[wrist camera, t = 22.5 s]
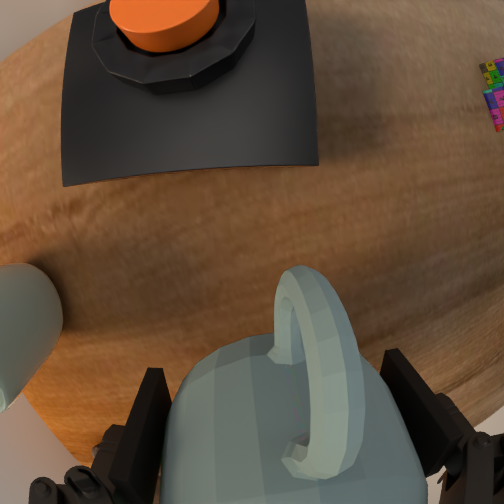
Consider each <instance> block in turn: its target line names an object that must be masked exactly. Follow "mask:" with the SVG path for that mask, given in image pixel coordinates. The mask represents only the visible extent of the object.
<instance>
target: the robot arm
mask: <svg viewBox="0 0 504 504" xmlns="http://www.w3.org/2000/svg"><path fill="white" fill-rule="evenodd" d="M380 376H381V378H382V379H383V380H384V382H385V383H386V384H387V386H388V387H389V390H390V392H391V394H392V396H393V398H394V400H395V402H396V405H397V407H398V409H399V411H400V413H401V416H402V418H403V420H404V423H405V425H406V428H407V430H408V433H409V435H410V438H411V440H412V442H413V444H414V447H415V449H416V452H417V454H418V457H419V459H420V463H421V466H422V469H423V472H424V475H425V478H427V477H429V476H431V475H433V474H435V473H438V472H439V471H440V469H441V468H442V467H443V465H444V466H445V468H446V469H447V470H446V471H445V472H444V473H443V475H442V476H441V477H440V479H439V480H438V482H437V484H439V483H440V482H441V481H442V480H443V483H442V490H441V496H440V501H439V504H504V433H503V434H498V435H494V436H490V435H488V434H486V433H485V432H476V431H475V430H474V428H473V427H472V426H471V424H470V423H469V422H468V421H467V419H466V418H465V417H464V415H463V414H462V413H461V412H459V409H458V408H457V406H455V404H454V403H453V401H452V400H451V399H450V398H449V397H448V396H446V395H444V394H443V393H438V394H434V393H433V392H432V390H431V389H430V388H429V387H428V385H427V384H426V383H425V381H424V380H423V379H422V378H421V376H420V375H419V374H418V373H417V371H416V370H415V369H414V368H413V366H412V365H411V364H410V363H409V361H408V360H407V359H406V358H405V356H404V355H403V354H402V353H401V351H400V350H399V349H398V348H395V349H390V350H385V353H384V358H383V362H382V366H381V371H380ZM171 405H172V401H171V398H170V394H169V390H168V387H167V383H166V379H165V375H164V372H163V368H147V371H146V373H145V376H144V378H143V381H142V383H141V386H140V388H139V391H138V394H137V396H136V399H135V401H134V404H133V407H132V409H131V412H130V415H129V417H128V420H127V423H126V425H125V426H122V425H115V424H113V425H112V426H111V427H110V428H109V429H108V430H107V431H106V432H105V434H104V436H103V439H102V443H101V444H100V446H99V450H98V451H97V453H96V456H95V459H94V461H93V464H92V466H91V469H90V468H89V467H86V466H75V467H72V468H70V469H69V470H68V471H67V472H66V474H65V476H64V482H65V484H63V485H62V484H55V482H54V481H52V480H51V479H49V478H46V477H39V478H37V479H35V480H34V481H33V482H32V483H31V486H30V492H29V504H153V501H154V496H155V491H156V485H157V480H158V475H159V470H160V465H161V461H162V450H163V440H164V432H165V423H166V420H167V417H168V414H169V411H170V408H171Z"/></svg>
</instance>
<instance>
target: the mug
mask: <svg viewBox="0 0 504 504" xmlns="http://www.w3.org/2000/svg"><path fill="white" fill-rule="evenodd" d="M159 504H428V484H427V481H426V478H425V475H424V472H423V469H422V466H421V463H420V459H419V457H418V454H417V452H416V449H415V447H414V444H413V442H412V440H411V438H410V435H409V433H408V430H407V428H406V425H405V423H404V420H403V418H402V416H401V413H400V411H399V409H398V407H397V405H396V402H395V400H394V398H393V396H392V394H391V392H390V390H389V387H388V386H387V384H386V383H385V382H384V380H383V379H382V378H381V376H380V375H379V373H378V372H377V371H376V370H375V369H374V368H373V366H372V365H371V364H370V363H369V362H368V361H367V360H366V359H365V358H364V357H363V356H362V355H361V354H360V353H359V351H358V346H357V342H356V338H355V335H354V332H353V329H352V327H351V324H350V321H349V318H348V315H347V313H346V311H345V309H344V307H343V305H342V303H341V301H340V299H339V297H338V295H337V293H336V291H335V290H334V289H333V287H332V286H331V284H330V283H329V282H328V280H327V279H326V278H325V277H324V276H323V275H322V274H320V273H319V272H318V271H316V270H314V269H311V268H309V267H307V266H304V265H296V266H294V267H292V268H290V269H288V270H286V271H285V272H284V273H283V274H282V276H281V278H280V281H279V284H278V286H277V290H276V295H275V307H274V333H268V334H262V335H256V336H250V337H247V338H244V339H242V340H239V341H236V342H234V343H231V344H228V345H226V346H223V347H220V348H219V349H217V350H216V351H214V352H213V353H211V354H210V355H208V356H207V357H205V358H204V359H202V360H201V361H199V362H198V363H197V364H196V365H195V366H194V367H193V369H192V370H191V371H190V372H189V373H188V375H187V376H186V377H185V378H184V379H183V381H182V383H181V385H180V387H179V389H178V392H177V394H176V396H175V398H174V400H173V402H172V405H171V408H170V411H169V414H168V417H167V420H166V423H165V432H164V440H163V450H162V462H161V480H160V497H159Z"/></svg>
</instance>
